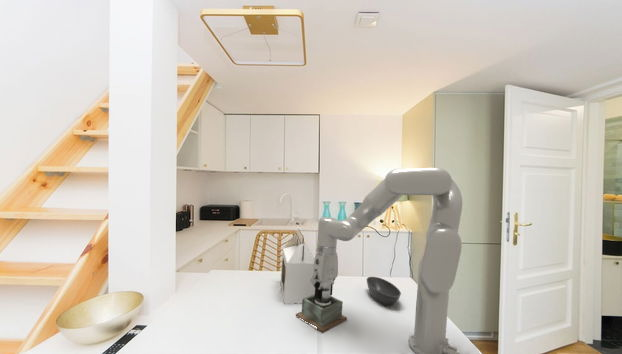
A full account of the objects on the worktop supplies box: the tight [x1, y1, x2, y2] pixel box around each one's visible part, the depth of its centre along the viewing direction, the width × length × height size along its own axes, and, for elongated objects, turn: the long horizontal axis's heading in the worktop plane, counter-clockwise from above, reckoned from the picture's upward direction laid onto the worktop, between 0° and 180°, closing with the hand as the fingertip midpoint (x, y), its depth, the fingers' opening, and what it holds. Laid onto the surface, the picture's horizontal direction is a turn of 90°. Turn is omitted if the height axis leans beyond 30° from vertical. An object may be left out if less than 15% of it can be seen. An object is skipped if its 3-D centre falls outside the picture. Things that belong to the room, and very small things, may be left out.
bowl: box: [366, 276, 402, 308], centre depth 123 cm, size 12×22×6 cm, turn 14°
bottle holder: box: [295, 294, 348, 334], centre depth 103 cm, size 14×14×7 cm
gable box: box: [280, 229, 315, 305], centre depth 124 cm, size 22×13×28 cm, turn 11°
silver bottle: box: [314, 275, 333, 308], centre depth 103 cm, size 6×7×20 cm
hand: (323, 295), depth 103 cm, fingers closed on silver bottle, 5 cm apart
